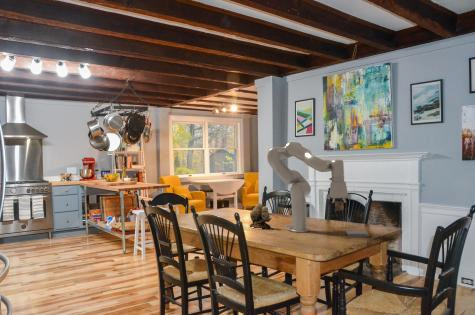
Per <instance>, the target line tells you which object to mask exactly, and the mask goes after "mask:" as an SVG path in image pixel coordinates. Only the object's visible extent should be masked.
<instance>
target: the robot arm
mask: <svg viewBox="0 0 475 315" xmlns="http://www.w3.org/2000/svg"><path fill="white" fill-rule="evenodd" d="M266 156H267V159H266V160H267V162H268V164H269V166H270V167H271V168H272V170H273V171H274V172H275V173H276V174H277V176H278V177H279V179H281V181H282V182H283V184H285V185H291V186H290V190H289V193H290V199H291V223H289V224H287V223H286V224H285V225H284V226H285V228H289V231H291V232H293V233H294V232H295V233H307V232H309V231H310V228H309V227H308V224H307V223H308V222H307V221H308V218H307V216H308V214H307V200H306V197H307V196H308V195H309V194H310V193H311V190H312V187H311V185H310V183H309V182H308V181H307V180H306V179H305V178H304V176H303V175H302V174H301V173H300V172H299V171H297V170H295V169H290V168H289V167H288V166H287V165H286V163H285V162H283V160H286V159H289V158H292V157H294V158H296V159H297V160H300V161H301V162H303V163H304V164H306V165H307V166H308V167H310V168H312V169H314V170H315V171H317V172H320V173H329V172H331V177H330V178H329V179H328V180H329V181H330V186H329V193H328V194H327V196H326V199H327V200H329V201H330V202H331V203H332V209H333V210H335V202H336V199H342V201H343V204H344V210H345V209H346V208H347V207H346V206H347V205H346V203H347V202H348V201H349V200H350V199H352V196H351V195H350V193H348V186H347V182H346V181H345V168H344V167H345V165H344V160H342V159H333V160H332V159H331V160H330V159H323V158H322V159H321V158H320V157H317V156H316V155H314V154H313V153H312V151H311V150H310V149H308V148H306V147H304V146H303V145H302V144H301V143H300V142H298V141H290V142H287V143H286V145H285V146H283V147H282V146H273V147H271V148H270V149H269V150H268V152H267V155H266Z"/></svg>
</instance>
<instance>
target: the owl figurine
mask: <svg viewBox="0 0 475 315" xmlns="http://www.w3.org/2000/svg"><path fill="white" fill-rule="evenodd" d="M249 214H250V215H249V217H250V219H251V221H252V223H250V224H249V225H248V227H249V226H250V227H254V228H268V229H271V228H272V227H271V225H270V224H268V223H269V222H271V220H272V217H271V216H270V215H271V214H270V212H269V208H268V206H263V204H262V203H256V205H255V207H253V209H252V210H251V211H250V213H249ZM267 222H268V223H267ZM250 227H249V228H250ZM254 228H253V229H254Z"/></svg>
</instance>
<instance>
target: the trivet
mask: <svg viewBox="0 0 475 315" xmlns="http://www.w3.org/2000/svg"><path fill="white" fill-rule="evenodd" d="M345 234H346V236H347V237H348V238H349V237H350V238H351V237H352V238H357V237H358V238H370V235H369V233H368V232H367V230H345Z"/></svg>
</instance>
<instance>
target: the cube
mask: <svg viewBox="0 0 475 315" xmlns="http://www.w3.org/2000/svg"><path fill="white" fill-rule="evenodd" d="M334 202H335V209H334V211H345V209H344V204H343V200H342V201H334Z"/></svg>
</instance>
